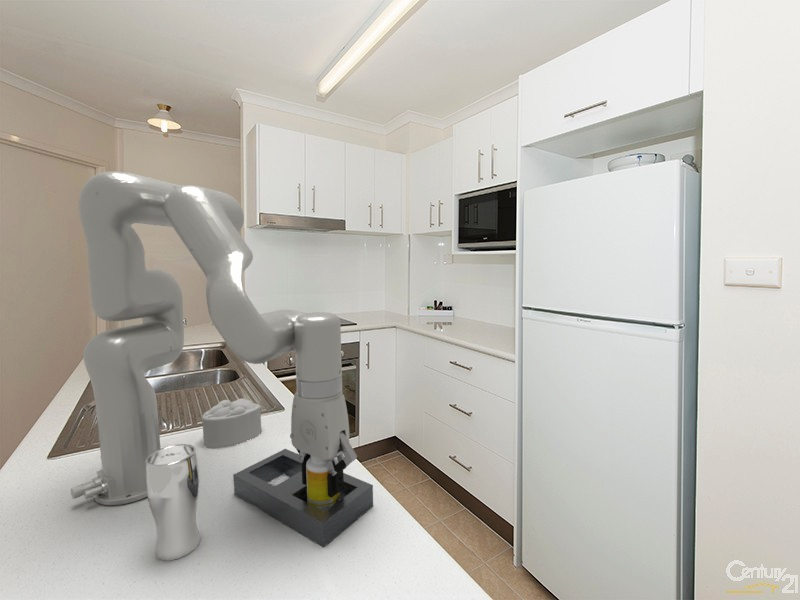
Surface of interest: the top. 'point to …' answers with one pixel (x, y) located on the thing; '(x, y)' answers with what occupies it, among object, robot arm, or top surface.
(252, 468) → the cinder block
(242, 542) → the top surface
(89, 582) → the top surface
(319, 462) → the supplement bottle
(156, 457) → the beer glass
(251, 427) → the lumpy-topped squat cylinder
